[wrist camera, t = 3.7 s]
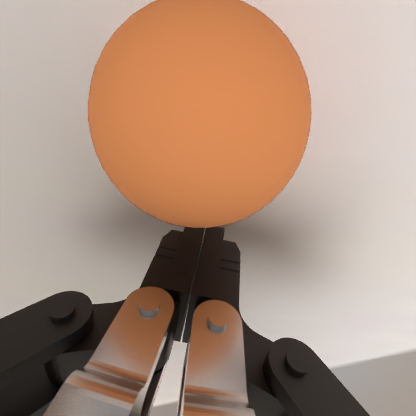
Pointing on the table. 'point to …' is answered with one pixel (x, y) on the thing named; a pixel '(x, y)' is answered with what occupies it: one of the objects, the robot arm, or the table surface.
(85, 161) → the table surface
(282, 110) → the ball
